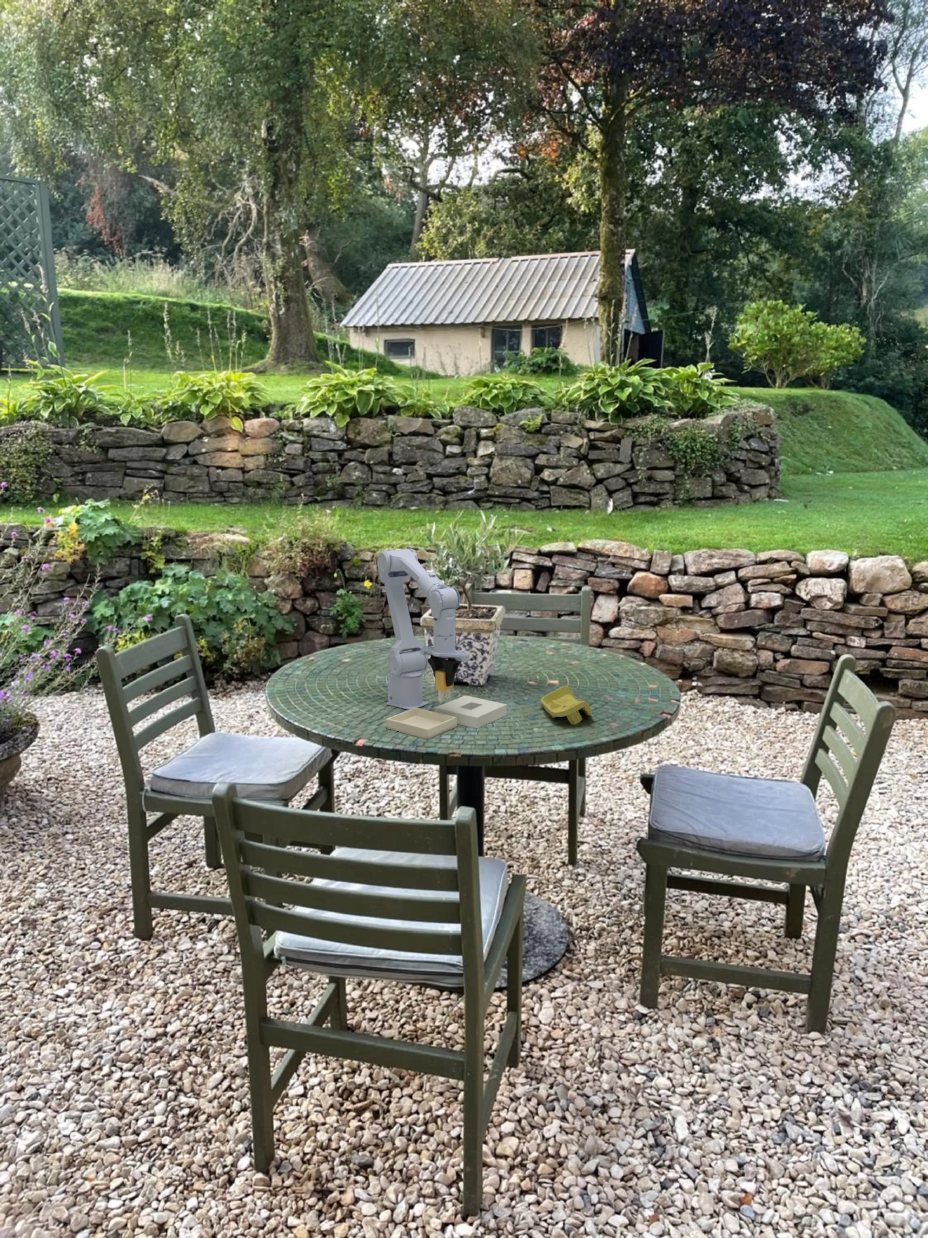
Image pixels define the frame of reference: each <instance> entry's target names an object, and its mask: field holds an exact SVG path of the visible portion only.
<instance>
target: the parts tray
mask: <svg viewBox="0 0 928 1238" xmlns="http://www.w3.org/2000/svg"><path fill="white" fill-rule="evenodd" d="M457 727H458V724H457V717H453V716H449V715H445V714H441V713H436V712H435V711H432V710H426V709H424V708H421V707H419V708H416V707H415V708H413V709H410V710H408V709H407V710H405V711H403V712H400V713H398V714H395V715H392V716H389V717H387V718H385V729H386V728H387V730H390V729H391V731H393V730H394V732H397V731H399V732H398V733H401V732H402V734H405V735H409V736H413V737H416V738H421V739H424V740H430V739H433V738H436V737H437V736H439V735H442V734H444V733H447V732H449V731H451V730H453V729H455V728H457Z"/></svg>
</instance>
